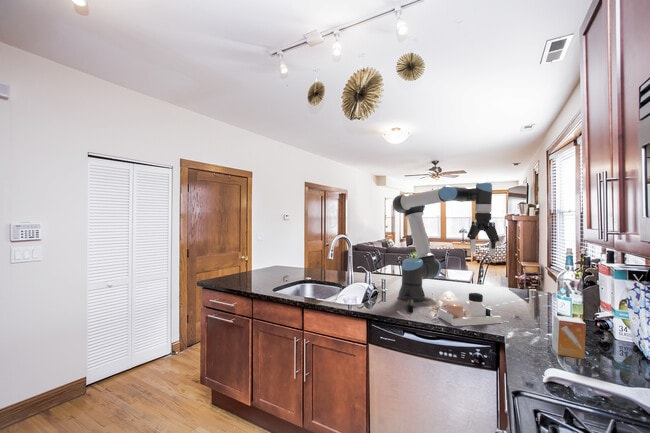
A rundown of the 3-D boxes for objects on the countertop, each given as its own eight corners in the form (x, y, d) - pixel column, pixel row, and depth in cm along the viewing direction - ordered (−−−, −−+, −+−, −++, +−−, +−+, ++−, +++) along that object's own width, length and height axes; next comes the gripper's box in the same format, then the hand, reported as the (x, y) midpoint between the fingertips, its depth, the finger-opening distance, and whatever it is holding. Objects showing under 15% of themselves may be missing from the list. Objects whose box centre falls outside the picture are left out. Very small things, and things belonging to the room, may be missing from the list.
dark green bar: (413, 305, 152) (413, 296, 167) (407, 305, 153) (407, 296, 168) (413, 315, 153) (412, 305, 167) (407, 314, 153) (407, 305, 168)
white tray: (436, 317, 149) (436, 307, 149) (481, 314, 155) (481, 304, 155) (454, 328, 136) (454, 317, 135) (502, 324, 141) (503, 314, 141)
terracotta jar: (443, 317, 146) (443, 303, 146) (456, 316, 148) (456, 302, 148) (452, 322, 139) (452, 307, 139) (465, 322, 141) (466, 307, 141)
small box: (557, 355, 112) (558, 320, 111) (551, 348, 118) (553, 314, 117) (584, 359, 109) (586, 323, 108) (577, 352, 115) (579, 317, 114)
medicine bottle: (485, 321, 142) (486, 295, 142) (469, 320, 143) (470, 295, 143) (480, 316, 149) (480, 291, 149) (464, 315, 150) (465, 291, 150)
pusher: (477, 314, 151) (477, 304, 151) (484, 313, 152) (485, 303, 152) (490, 320, 143) (490, 309, 143) (497, 319, 144) (498, 309, 144)
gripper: (508, 213, 147) (507, 256, 147) (472, 212, 171) (471, 250, 172) (495, 212, 145) (493, 257, 146) (461, 212, 170) (459, 250, 170)
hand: (481, 253), depth 159 cm, fingers open, 13 cm apart
